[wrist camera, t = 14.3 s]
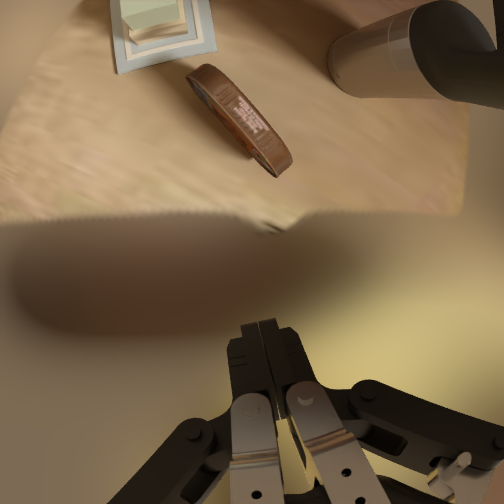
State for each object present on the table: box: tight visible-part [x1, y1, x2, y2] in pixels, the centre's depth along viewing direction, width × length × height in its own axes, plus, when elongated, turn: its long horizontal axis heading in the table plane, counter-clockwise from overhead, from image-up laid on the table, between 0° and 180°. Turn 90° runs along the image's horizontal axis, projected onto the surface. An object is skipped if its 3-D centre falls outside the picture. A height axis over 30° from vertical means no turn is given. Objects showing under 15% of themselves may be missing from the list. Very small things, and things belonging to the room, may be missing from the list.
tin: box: [186, 64, 293, 178], centre depth 29 cm, size 15×3×8 cm, turn 39°
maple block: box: [128, 0, 188, 45], centre depth 23 cm, size 6×6×4 cm
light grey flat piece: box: [110, 0, 217, 75], centre depth 25 cm, size 12×12×1 cm
